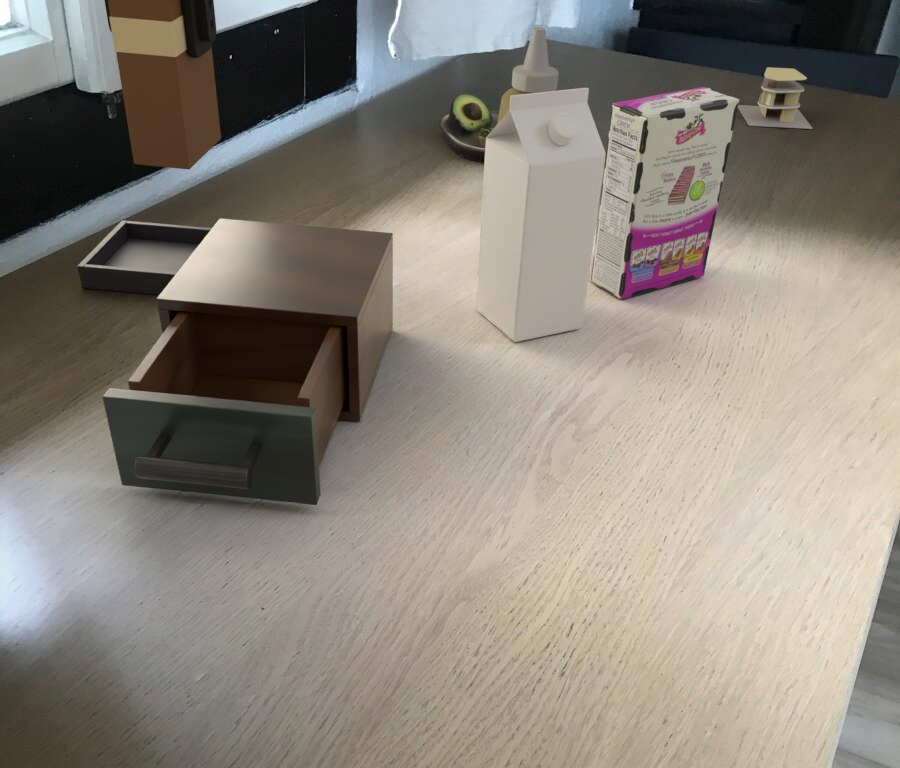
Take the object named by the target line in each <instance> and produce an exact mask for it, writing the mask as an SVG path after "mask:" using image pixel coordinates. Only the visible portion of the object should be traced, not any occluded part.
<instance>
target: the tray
mask: <svg viewBox="0 0 900 768" xmlns="http://www.w3.org/2000/svg"><path fill="white" fill-rule="evenodd" d="M212 228H213V227H206V226H205V227H203V226H190V225H182V224H181V225H180V224H169V223H158V222H147V221H145V222H144V221H136V220H135V221H133V220H121V221H120V222H119V223H118V224H117V225H116V226H115V227H114V228H113V229H112V230H111V231H110V232H109V233H108V234H107V235H106V236H105V237H104V238H103V239H102V240H101V241H100V242H99V243H98V244H97V245H96V246H95V247H94V248H93V249H92V251H90V252H89V253H88V255H87V256H85V257H84V259H83V260H82V261H80V262H79V264H77V266H76V267H77V271H78V277H79V281H80V285H81V288H82V289H91V290H101V291H102V290H103V291H113V292H124V293H133V294H146V295H157V296H159V295H160V294H161V293H162V291H163V290H164V289H165V287H166V286H167V285H168V284H169V282H170V281H171V280H172V279H173V277H174V276H175V275H176V274H177V272H178V271H179V270H180V268H181V267H182V266H183V265H184V263H185V262H186V261H187V260H188V258H189V257H190V256H191V254H192V253H193V252H194V251H195V249H196V248H197V247H198V246H199V244H200V243H201V242H202V241H203V239H204V238H205V237H206V235H207V234H208V233H209V232H210V230H211V229H212Z"/></svg>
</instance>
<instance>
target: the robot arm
mask: <svg viewBox="0 0 900 768" xmlns="http://www.w3.org/2000/svg"><path fill="white" fill-rule="evenodd" d="M180 1H181V10H182V15H183V20H184V29H185V37H186V46H187V50H186V52H187V55H189V56H190V57H191V58H200V57H201V56H202V55H204V54H205V53H206V52H208V51H209V50H210V49H211V47H212V48H213V46H212V45H213V42H215V40H216V39H217V23H216V12H215V1H214V0H180ZM104 6H105V12H106V17H107V18H106V19H107V24H108V29H109V31H110V32H111V33H112V31H111V24H110V18H109V17H110V11H109V5H108V0H104Z"/></svg>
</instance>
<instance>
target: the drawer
mask: <svg viewBox="0 0 900 768" xmlns="http://www.w3.org/2000/svg"><path fill="white" fill-rule="evenodd" d="M127 384H128V388H129V389H124V388H113V387H108V388H107V390H106V391H105V392H104V394H103V395H102V403H103V407H104V410H105V415H106V419H107V424H108V429H109V433H110V438H111V443H112V446H113V451H114V455H115V460H116V465H117V468H118V474H119V478H120V482H121V486H124V487H125V486H126V487H135V488H145V489H155V490H164V491H165V490H166V491H175V492H185V493H192V494H202V495H203V494H204V495H214V496H223V497H233V498H243V499H252V500H261V501H271V502H281V503H282V502H283V503H291V504H300V505H310V506H318V503H319V501H320V498H321V480H320V479H321V478H320V466H321V464H322V461H323V459H324V456H325V454H326V450H327V448H328V446H329V443H330V440H331V438H332V436H333V433H334V430H335V428H336V425H337V422H338V417H339V415H340V412H341V410H342V407H343V404H344V402H345V399H346V397H347V394H348V392H349V390H348V359H347V330H346V326H341V325H330V324H319V323H308V322H297V321H286V320H275V319H264V318H253V317H242V316H231V315H220V314H209V313H198V312H187V311H179V312H178V313H177V315H176V316H175V318H174V319H173V320H172V322H171V323H170V324H169V326H168V327H167V328H166V330H165V331H164V333H163V334H161V335H160V337H159V338H158V339H157V341H156V342H155V343H154V345H153V346H152V347H151V349H150V350H149V351H148V353H147V354H146V356H144V358H143V360H142V361H141V362H140V364H139V365H138V367H137V368H136V369H135V371H134V372H133V373H132V375H131V376H130V378H129V379H128V380H127Z"/></svg>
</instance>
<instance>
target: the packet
mask: <svg viewBox="0 0 900 768" xmlns="http://www.w3.org/2000/svg"><path fill="white" fill-rule="evenodd" d="M108 5H109V11H110V17H109V18H110V24H111V31H112V32H111V31H110V32H111V37H112V42H113V48H114V52H115V54H116V60H117V67H118V72H119V79H120V86H121V91H122V97H123V104H124V110H125V115H126V123H127V127H128V134H129V141H130V147H131V153H132V160H133V164H134V165H138V166H139V165H140V166H150V167H160V168H170V169H180V170H191V169H192V168H193V167H194V166H195V165H196V164H197V163H198V162H199V161H200V160H201V159H202V158H203V157H204V156H205V155H206V154H207V153H208V152H209V151H210V150H211V149H212V148H213V147H214V146H215V145H216V144H217V143H219V141H220V140H221V139H222V134H221V125H220V115H219V107H218V106H219V105H218V95H217V86H216V85H217V84H216V77H215V76H216V75H215V68H214V58H213V46H212V47H211V49H210V50H209V51H208V52H206V53H205V54H204V55H202V56H201V57H200V58H191V57H190V56H189V55H187V52H186V50H187V46H186V37H185V29H184V20H183V15H182V10H181V1H180V0H108Z"/></svg>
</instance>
